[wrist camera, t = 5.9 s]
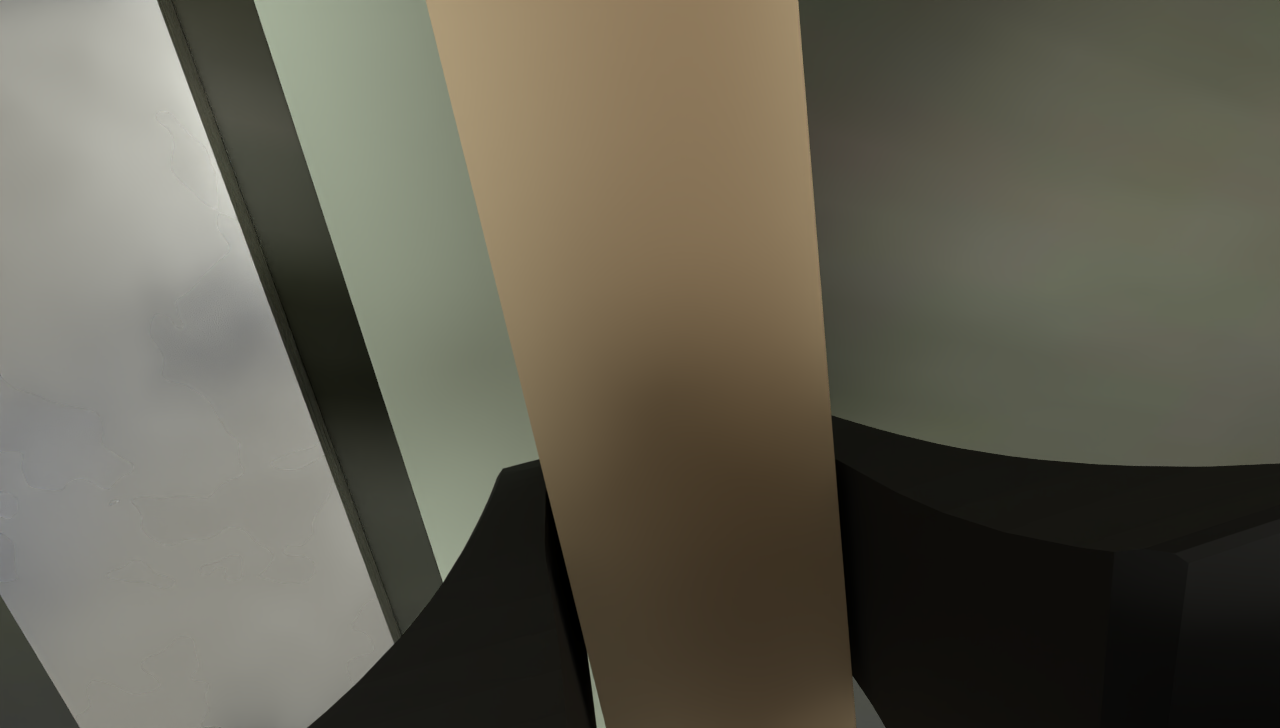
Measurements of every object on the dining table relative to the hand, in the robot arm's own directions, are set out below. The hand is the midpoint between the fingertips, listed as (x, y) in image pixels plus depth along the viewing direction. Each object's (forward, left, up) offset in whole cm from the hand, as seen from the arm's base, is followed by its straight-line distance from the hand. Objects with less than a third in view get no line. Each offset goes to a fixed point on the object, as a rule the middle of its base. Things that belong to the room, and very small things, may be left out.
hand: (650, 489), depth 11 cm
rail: (0, 0, 0) cm, 0 cm away
